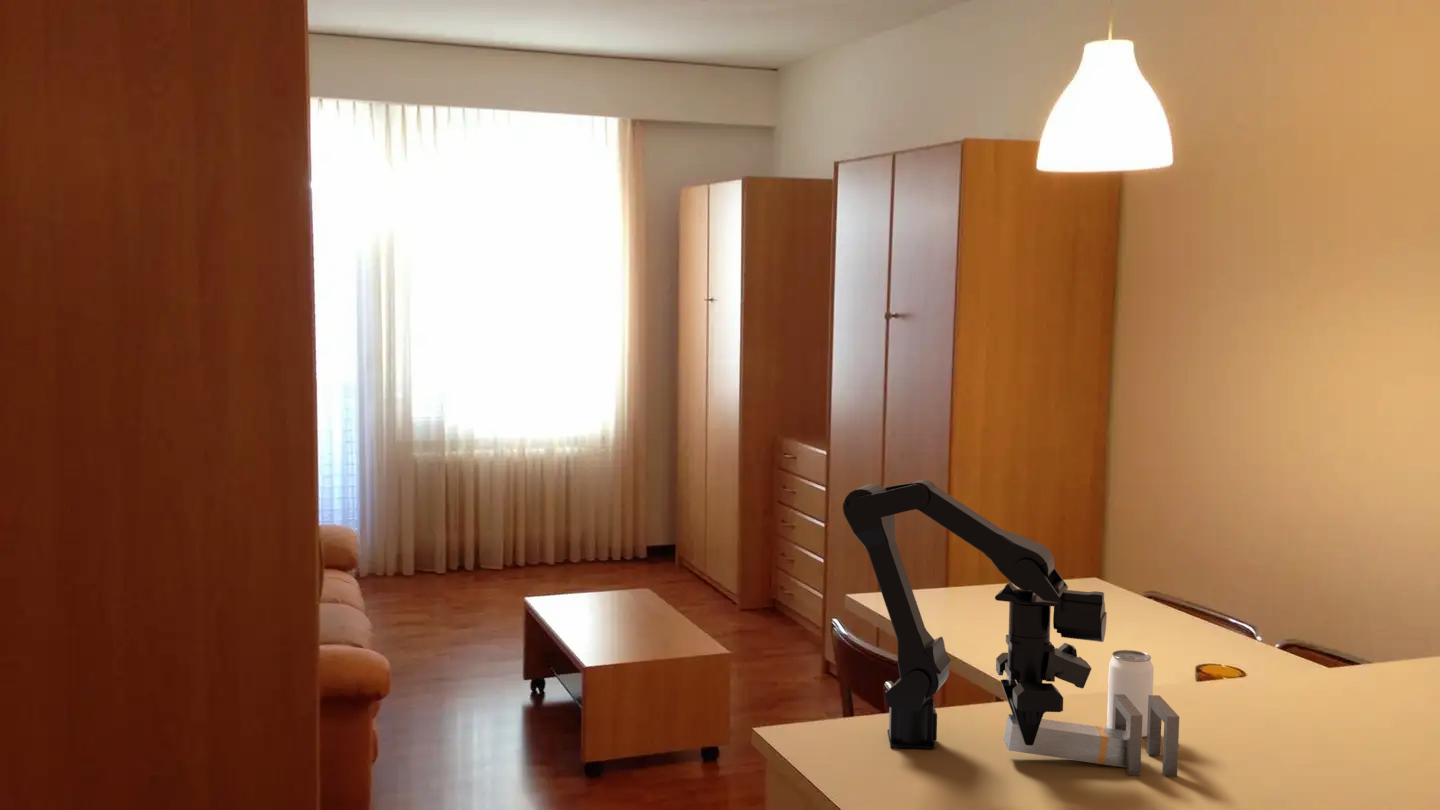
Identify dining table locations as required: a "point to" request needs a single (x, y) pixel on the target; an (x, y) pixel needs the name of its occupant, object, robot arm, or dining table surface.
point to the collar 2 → (1165, 713)
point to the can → (1130, 682)
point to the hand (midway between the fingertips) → (1026, 739)
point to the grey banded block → (1071, 742)
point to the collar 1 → (1129, 731)
